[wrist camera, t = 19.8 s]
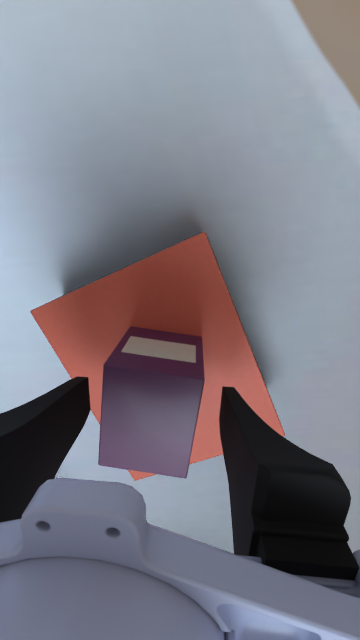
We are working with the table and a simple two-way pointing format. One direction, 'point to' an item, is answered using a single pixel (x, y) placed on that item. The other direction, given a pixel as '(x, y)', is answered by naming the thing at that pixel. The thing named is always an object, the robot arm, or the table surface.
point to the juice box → (151, 402)
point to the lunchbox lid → (164, 315)
